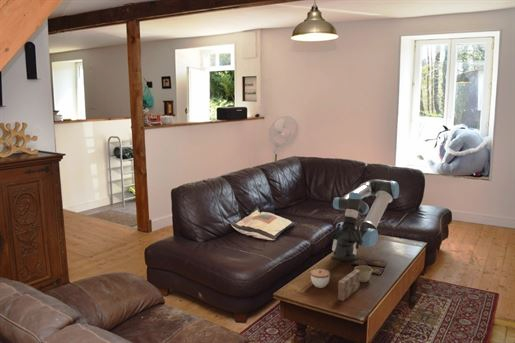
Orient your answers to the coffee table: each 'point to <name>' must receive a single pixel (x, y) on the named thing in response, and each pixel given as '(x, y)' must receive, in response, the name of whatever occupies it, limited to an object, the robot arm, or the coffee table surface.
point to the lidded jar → (320, 277)
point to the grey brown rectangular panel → (348, 285)
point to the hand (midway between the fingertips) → (343, 252)
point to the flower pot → (364, 272)
